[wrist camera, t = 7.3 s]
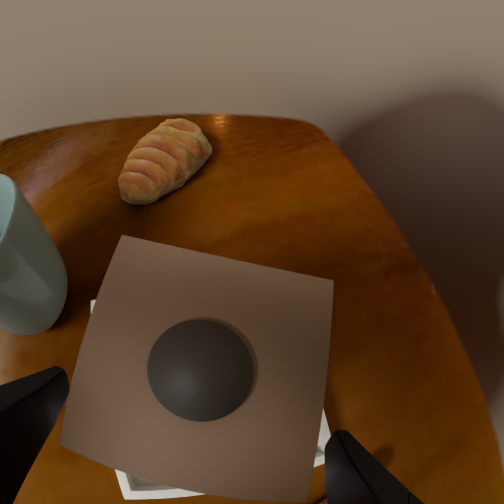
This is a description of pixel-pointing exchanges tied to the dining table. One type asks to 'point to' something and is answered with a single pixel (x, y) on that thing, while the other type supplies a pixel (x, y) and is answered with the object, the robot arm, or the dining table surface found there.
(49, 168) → the dining table surface
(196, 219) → the dining table surface
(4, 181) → the cup
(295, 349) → the block
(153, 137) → the pastry
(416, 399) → the dining table surface
